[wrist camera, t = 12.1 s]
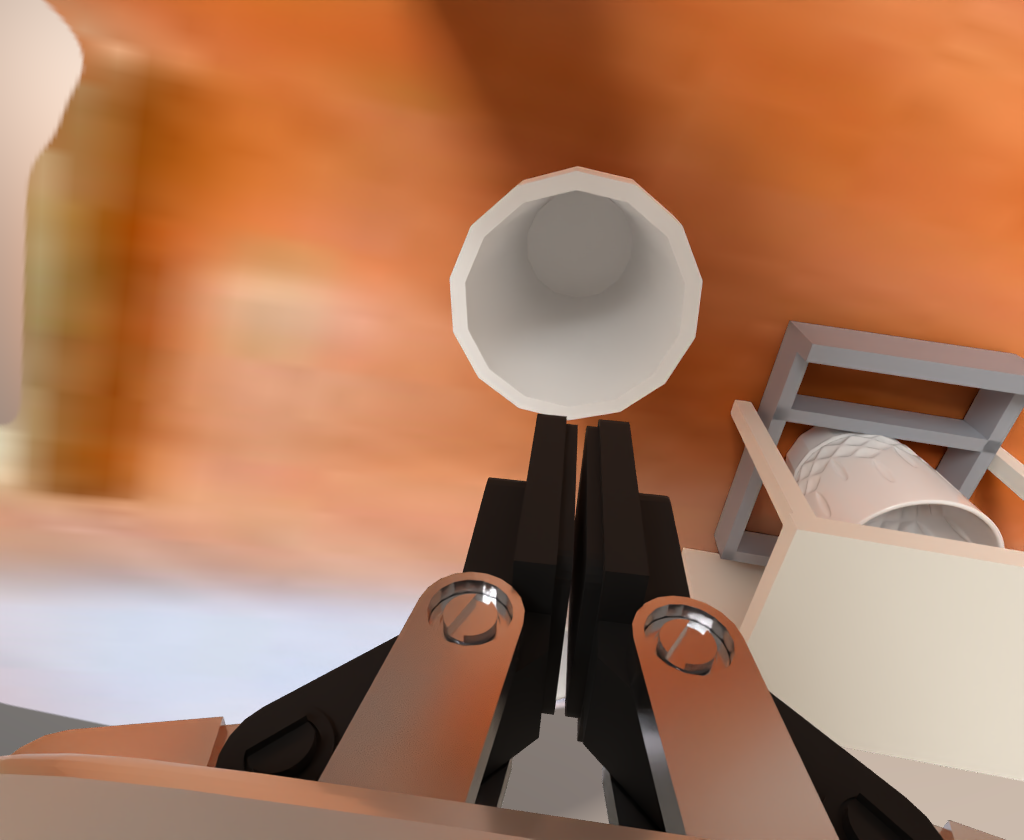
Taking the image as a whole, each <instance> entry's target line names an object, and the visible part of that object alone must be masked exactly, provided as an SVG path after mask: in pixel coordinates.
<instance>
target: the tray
mask: <svg viewBox="0 0 1024 840" xmlns="http://www.w3.org/2000/svg"><path fill="white" fill-rule="evenodd" d="M809 362H811V363H817V364H824V365H830V366H837V367H844V368H850V369H857V370H863V371H870V372H877V373H883V374H890V375H896V376H903V377H909V378H916V379H923V380H929V381H936V382H942V383H949V384H955V385H962V386H969V387H975V388H980V390H979V392H978V394H977V396H976V397H975V399H974V401H973V403H972V405H971V407H970V409H969V410H968V412H967V414H966V416H965V418H964V420H961V419H954V418H948V417H941V416H935V415H928V414H922V413H915V412H909V411H903V410H896V409H890V408H883V407H877V406H870V405H864V404H857V403H851V402H845V401H838V400H832V399H825V398H819V397H812V396H806V395H799V394H797V392H798V389H799V387H800V384H801V381H802V379H803V376H804V373H805V371H806V368H807V366H808V363H809ZM1023 407H1024V359H1023V358H1021V357H1019V356H1018V355H1016V354H1012V353H1005V352H998V351H991V350H985V349H978V348H971V347H964V346H958V345H951V344H944V343H937V342H931V341H924V340H917V339H910V338H904V337H897V336H890V335H884V334H877V333H870V332H863V331H857V330H850V329H843V328H836V327H830V326H823V325H816V324H809V323H803V322H796V321H789V324H788V327H787V330H786V332H785V335H784V338H783V341H782V344H781V347H780V349H779V352H778V355H777V358H776V361H775V364H774V366H773V369H772V372H771V375H770V378H769V381H768V383H767V386H766V389H765V392H764V395H763V398H762V400H761V403H760V406H759V409H758V412H757V413H758V415H759V417H760V419H761V420H762V422H763V424H764V426H765V427H766V429H767V431H768V433H769V435H770V436H771V438H772V440H773V442H774V443H775V445H776V447H777V444H778V441H779V439H780V436H781V434H782V431H783V428H784V426H785V423H786V421H788V422H794V423H800V424H807V425H813V426H819V427H826V428H832V429H838V430H845V431H851V432H857V433H864V434H870V435H882V436H885V437H889V438H895V439H902V440H908V441H914V442H921V443H927V444H933V445H940V446H946V447H948V449H947V451H946V453H945V455H944V456H943V458H942V460H941V462H940V464H939V466H938V467H937V469H936V471H937V472H939V473H940V474H941V475H942V476H943V477H944V478H945V479H946V480H947V481H948V482H949V483H951V484H952V485H953V486H954V487H955V488H956V489H957V490H958V491H959V492H961V493H962V494H963V495H964V496H965V497H966V498H967V499H968V500H969V499H970V497H971V495H972V494H973V492H974V490H975V488H976V487H977V485H978V483H979V482H980V480H981V478H982V477H983V475H984V473H985V472H986V470H987V468H988V467H989V465H990V463H991V461H992V460H993V458H994V456H995V455H996V453H997V451H998V450H999V448H1000V446H1001V445H1002V443H1003V441H1004V439H1005V438H1006V436H1007V434H1008V433H1009V431H1010V429H1011V428H1012V426H1013V424H1014V423H1015V421H1016V419H1017V417H1018V416H1019V414H1020V412H1021V411H1022V409H1023ZM762 483H763V482H762V480H761V477H760V475H759V473H758V471H757V469H756V467H755V465H754V463H753V460H752V458H751V456H750V454H749V452H748V450H747V448H746V446H745V448H744V451H743V454H742V457H741V460H740V463H739V465H738V468H737V471H736V474H735V477H734V480H733V482H732V485H731V488H730V491H729V494H728V497H727V499H726V502H725V505H724V508H723V511H722V514H721V516H720V519H719V522H718V525H717V528H716V531H715V533H714V537H715V541H716V544H717V548H718V551H719V554H720V558H721V559H725V560H731V561H737V562H743V563H748V564H754V565H760V566H767V563H768V561H769V558H770V556H771V554H772V551H773V549H774V547H775V544H776V542H777V539H778V536H772V535H766V534H760V533H754V532H748V531H744V530H745V528H746V525H747V522H748V520H749V517H750V515H751V512H752V509H753V507H754V504H755V502H756V499H757V496H758V494H759V491H760V489H761V486H762Z"/></svg>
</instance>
